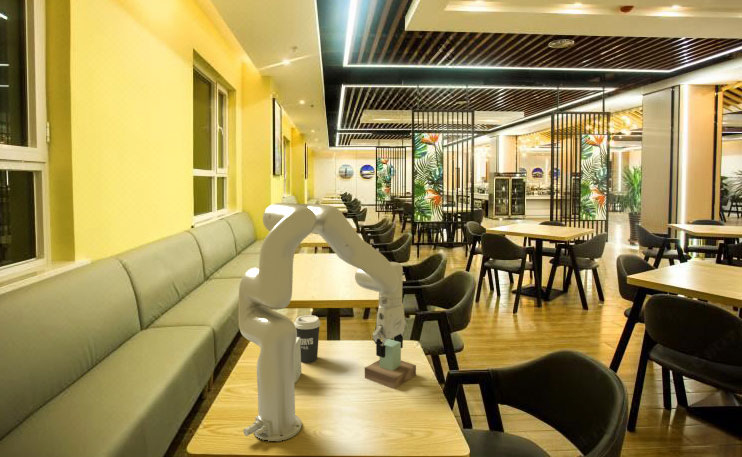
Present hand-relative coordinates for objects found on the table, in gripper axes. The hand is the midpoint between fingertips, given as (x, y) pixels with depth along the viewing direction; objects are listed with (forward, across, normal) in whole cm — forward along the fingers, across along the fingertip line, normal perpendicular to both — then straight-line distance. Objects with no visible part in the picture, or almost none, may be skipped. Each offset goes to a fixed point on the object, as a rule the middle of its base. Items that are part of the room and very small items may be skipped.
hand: (389, 351), depth 155 cm
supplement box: (+9, -21, +26) cm, 34 cm away
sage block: (+5, 0, 0) cm, 5 cm away
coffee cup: (+9, -7, +31) cm, 33 cm away
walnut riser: (+9, 0, 0) cm, 9 cm away
